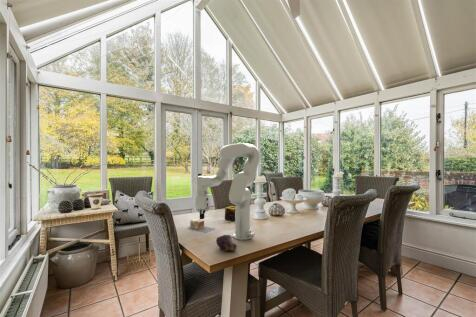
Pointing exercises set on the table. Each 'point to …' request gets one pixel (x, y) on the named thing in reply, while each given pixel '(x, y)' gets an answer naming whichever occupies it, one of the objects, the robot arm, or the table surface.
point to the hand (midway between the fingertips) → (202, 218)
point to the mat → (203, 229)
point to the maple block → (197, 223)
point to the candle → (230, 213)
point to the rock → (226, 243)
